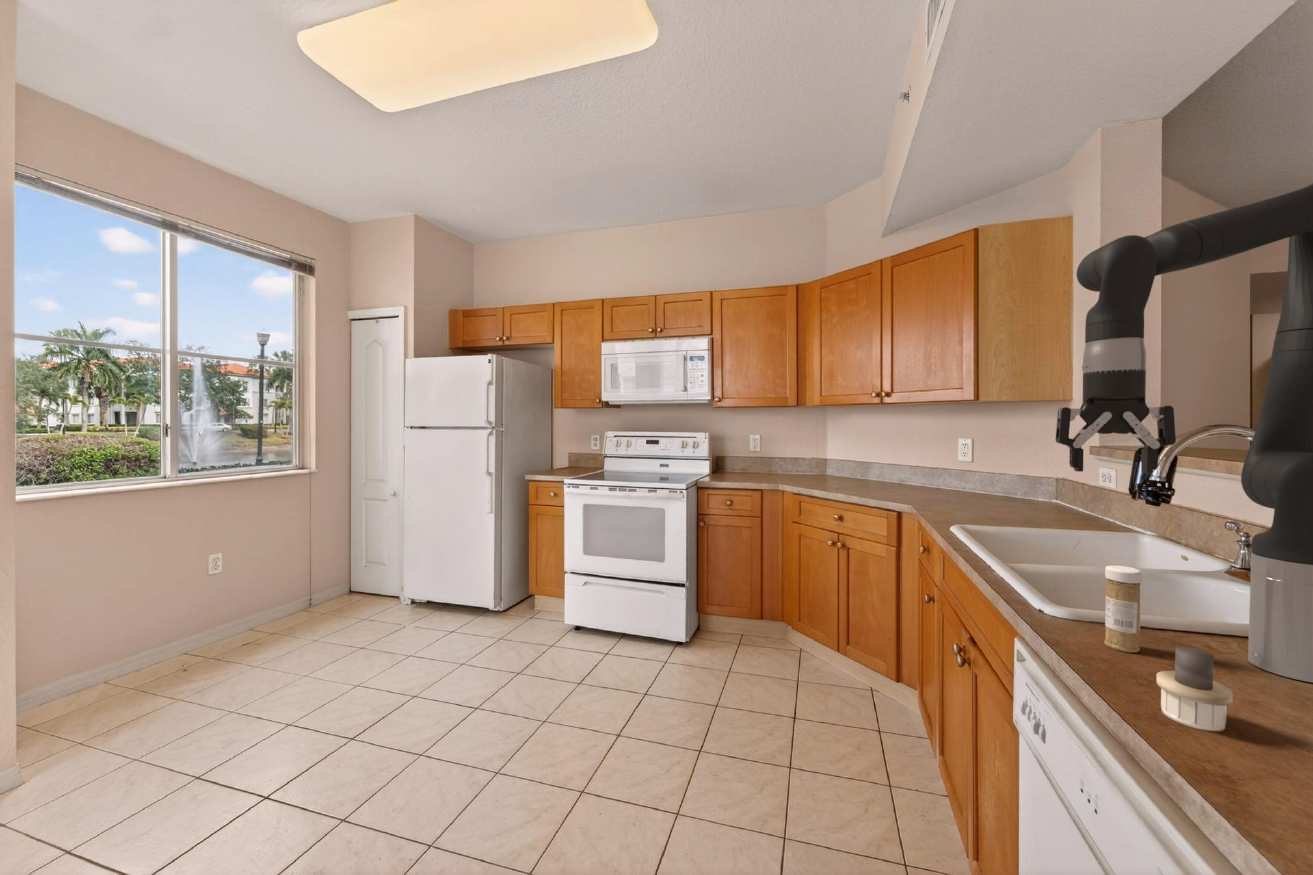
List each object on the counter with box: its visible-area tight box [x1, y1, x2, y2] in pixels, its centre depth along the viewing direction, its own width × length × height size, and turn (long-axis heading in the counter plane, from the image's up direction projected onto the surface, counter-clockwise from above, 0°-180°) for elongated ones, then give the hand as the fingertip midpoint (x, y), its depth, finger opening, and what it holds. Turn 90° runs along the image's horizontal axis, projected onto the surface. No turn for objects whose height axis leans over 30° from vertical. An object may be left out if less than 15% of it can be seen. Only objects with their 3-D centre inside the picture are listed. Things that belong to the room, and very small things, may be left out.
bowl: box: [1160, 688, 1228, 732], centre depth 67 cm, size 6×6×4 cm
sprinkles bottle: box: [1103, 565, 1143, 653], centre depth 88 cm, size 5×5×13 cm
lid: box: [1155, 646, 1234, 706], centre depth 67 cm, size 7×7×5 cm
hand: (1112, 472), depth 83 cm, fingers open, 8 cm apart
